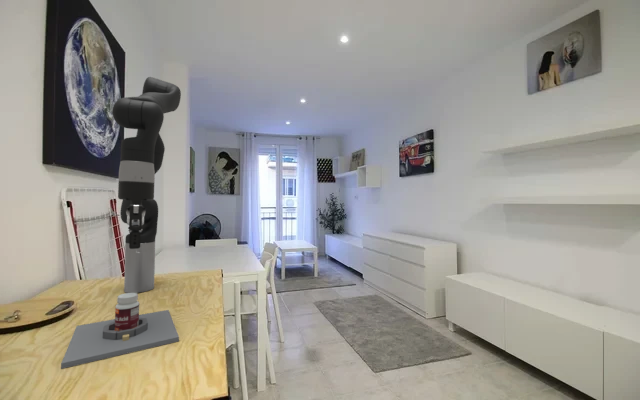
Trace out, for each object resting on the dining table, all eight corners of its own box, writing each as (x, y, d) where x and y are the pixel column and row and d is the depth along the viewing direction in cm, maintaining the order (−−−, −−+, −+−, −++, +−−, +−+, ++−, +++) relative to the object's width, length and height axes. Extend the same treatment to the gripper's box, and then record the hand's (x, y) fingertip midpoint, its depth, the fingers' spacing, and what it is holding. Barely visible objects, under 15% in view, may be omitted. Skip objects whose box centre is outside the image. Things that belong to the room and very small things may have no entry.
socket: (76, 329, 70) (76, 319, 70) (168, 313, 81) (168, 304, 81) (60, 368, 53) (61, 355, 53) (178, 341, 64) (179, 330, 64)
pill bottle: (109, 334, 65) (110, 297, 65) (125, 325, 70) (126, 291, 70) (127, 335, 65) (128, 298, 65) (143, 327, 69) (144, 292, 70)
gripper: (156, 180, 67) (153, 249, 67) (153, 183, 79) (151, 241, 78) (116, 178, 63) (114, 251, 62) (120, 181, 75) (117, 243, 74)
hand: (134, 245), depth 70 cm, fingers open, 8 cm apart
